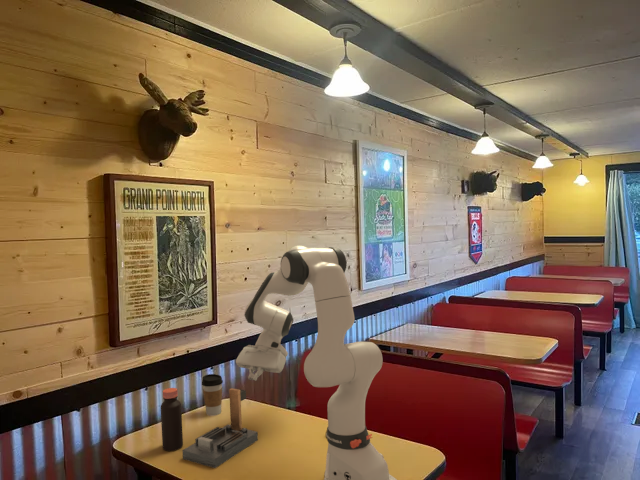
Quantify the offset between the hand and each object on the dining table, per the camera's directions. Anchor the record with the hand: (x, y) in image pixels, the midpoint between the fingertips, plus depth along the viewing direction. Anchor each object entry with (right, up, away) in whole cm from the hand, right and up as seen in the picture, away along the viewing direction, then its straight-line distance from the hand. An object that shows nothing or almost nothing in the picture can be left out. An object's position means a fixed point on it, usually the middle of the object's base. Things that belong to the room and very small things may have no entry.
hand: (251, 379), depth 180 cm
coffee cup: (-18, -19, +18) cm, 32 cm away
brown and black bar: (-4, -16, -7) cm, 17 cm away
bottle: (-26, -20, -11) cm, 35 cm away
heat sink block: (-8, -20, -15) cm, 26 cm away
